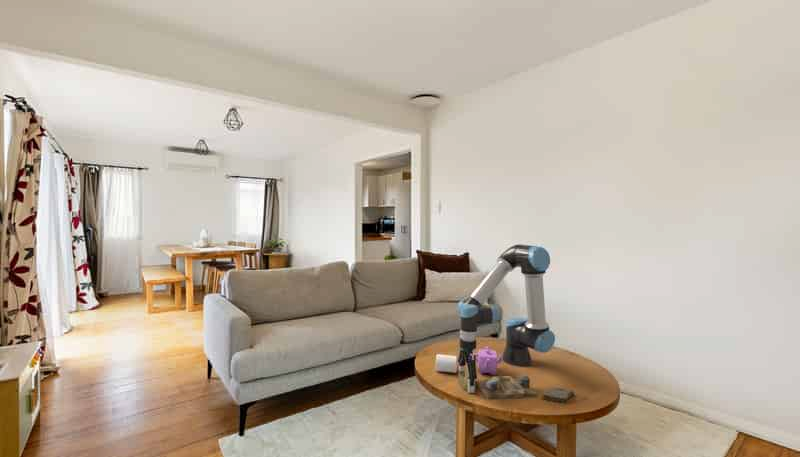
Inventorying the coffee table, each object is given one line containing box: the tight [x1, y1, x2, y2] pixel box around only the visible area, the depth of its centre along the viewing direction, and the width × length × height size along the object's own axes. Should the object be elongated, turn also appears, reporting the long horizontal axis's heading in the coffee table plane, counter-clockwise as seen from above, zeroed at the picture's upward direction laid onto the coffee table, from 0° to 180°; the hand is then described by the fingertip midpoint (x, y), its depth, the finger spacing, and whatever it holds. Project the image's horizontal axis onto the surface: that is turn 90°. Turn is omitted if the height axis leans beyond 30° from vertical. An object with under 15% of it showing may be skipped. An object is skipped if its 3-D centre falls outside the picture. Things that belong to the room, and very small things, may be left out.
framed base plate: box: [475, 375, 538, 400], centre depth 165 cm, size 23×15×3 cm, turn 99°
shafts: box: [486, 375, 531, 392], centre depth 164 cm, size 22×6×4 cm, turn 99°
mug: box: [435, 353, 458, 374], centre depth 185 cm, size 12×10×8 cm
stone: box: [542, 386, 576, 404], centre depth 159 cm, size 15×8×3 cm, turn 131°
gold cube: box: [457, 370, 477, 391], centre depth 167 cm, size 6×6×6 cm
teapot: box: [473, 345, 503, 376], centre depth 184 cm, size 15×13×11 cm
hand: (466, 385), depth 167 cm, fingers open, 12 cm apart
